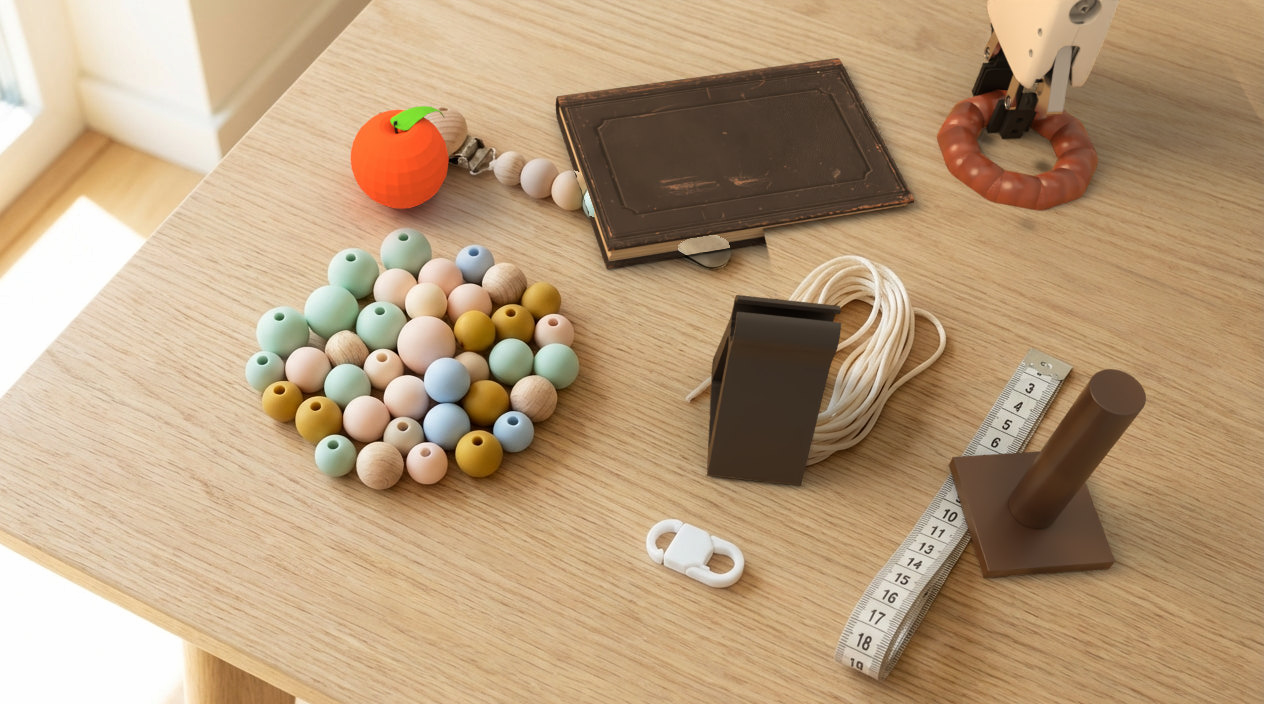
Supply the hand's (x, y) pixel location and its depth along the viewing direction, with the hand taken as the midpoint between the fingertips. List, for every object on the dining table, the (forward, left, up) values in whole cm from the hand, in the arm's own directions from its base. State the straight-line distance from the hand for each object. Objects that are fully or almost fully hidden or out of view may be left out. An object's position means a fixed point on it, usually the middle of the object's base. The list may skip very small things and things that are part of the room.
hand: (995, 119), depth 96 cm
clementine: (+46, +4, -1) cm, 46 cm away
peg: (+8, +34, 0) cm, 35 cm away
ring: (0, +4, +1) cm, 5 cm away
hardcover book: (+22, +3, -1) cm, 22 cm away
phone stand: (+24, +26, -1) cm, 36 cm away
